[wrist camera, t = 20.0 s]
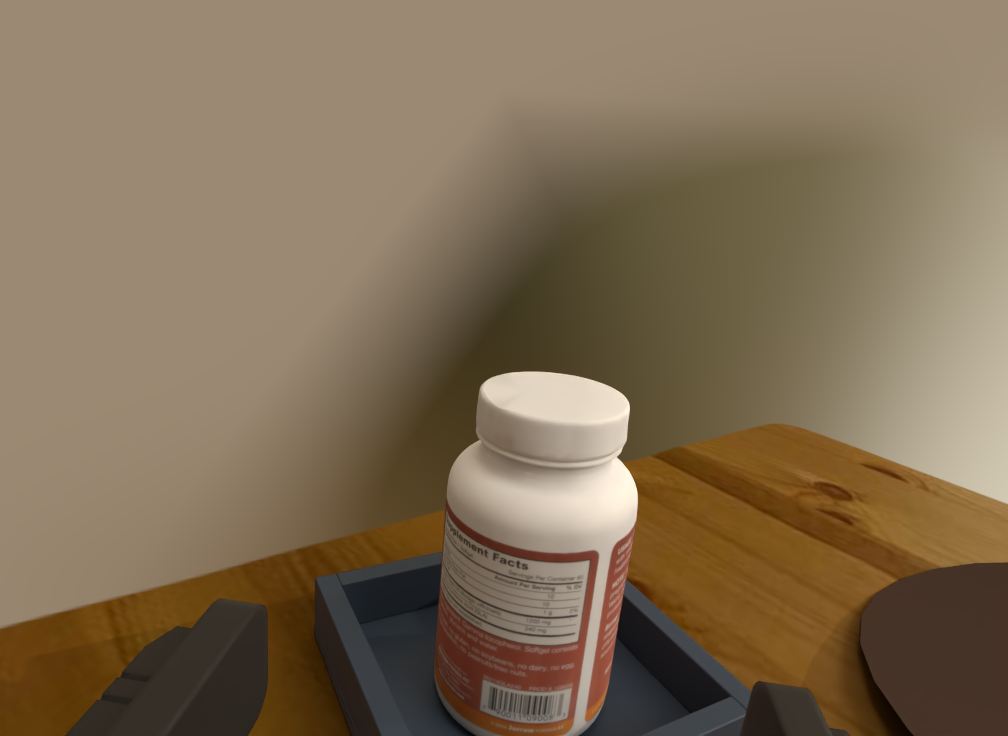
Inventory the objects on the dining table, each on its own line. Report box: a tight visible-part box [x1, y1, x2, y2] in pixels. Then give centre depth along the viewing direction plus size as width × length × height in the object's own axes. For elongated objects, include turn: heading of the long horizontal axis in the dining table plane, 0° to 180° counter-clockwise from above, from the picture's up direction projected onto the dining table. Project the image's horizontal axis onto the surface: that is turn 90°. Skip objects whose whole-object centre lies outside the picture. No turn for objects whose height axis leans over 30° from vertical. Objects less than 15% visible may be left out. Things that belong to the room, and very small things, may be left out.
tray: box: [314, 552, 751, 736], centre depth 23 cm, size 12×12×3 cm
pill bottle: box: [434, 372, 638, 736], centre depth 22 cm, size 6×6×11 cm
